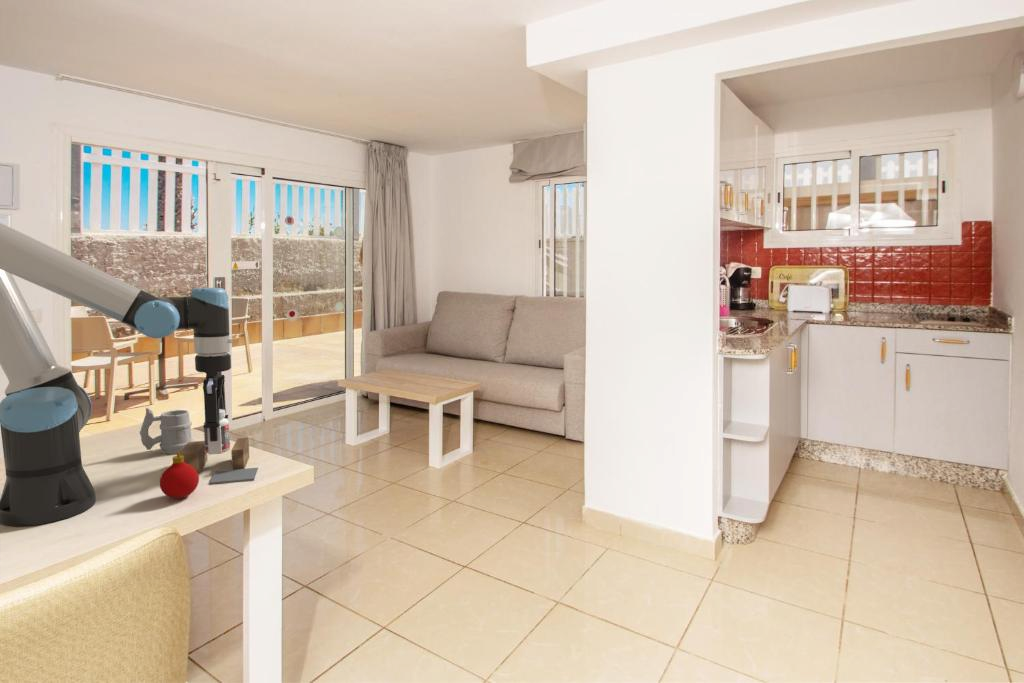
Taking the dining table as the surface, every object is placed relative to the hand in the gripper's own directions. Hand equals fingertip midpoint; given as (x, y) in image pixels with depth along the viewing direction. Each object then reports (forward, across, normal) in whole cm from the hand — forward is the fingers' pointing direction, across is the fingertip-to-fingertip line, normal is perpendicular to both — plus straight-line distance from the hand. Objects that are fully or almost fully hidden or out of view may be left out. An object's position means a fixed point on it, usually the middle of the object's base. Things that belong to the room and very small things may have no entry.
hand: (217, 449), depth 142 cm
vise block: (+4, 0, 0) cm, 4 cm away
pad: (+4, -9, -5) cm, 11 cm away
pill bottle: (+1, 0, 0) cm, 1 cm away
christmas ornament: (+4, -19, +4) cm, 20 cm away
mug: (+4, +16, +14) cm, 22 cm away
